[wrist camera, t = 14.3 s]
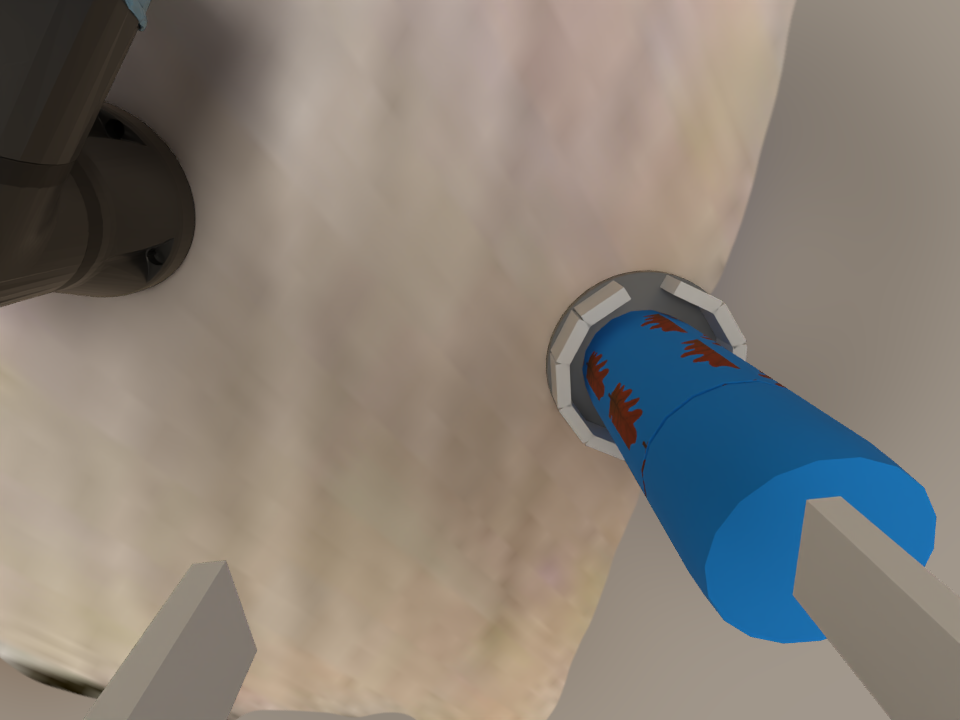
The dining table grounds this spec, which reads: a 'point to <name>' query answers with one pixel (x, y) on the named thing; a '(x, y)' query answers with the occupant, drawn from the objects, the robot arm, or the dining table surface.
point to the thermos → (738, 466)
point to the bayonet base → (613, 302)
